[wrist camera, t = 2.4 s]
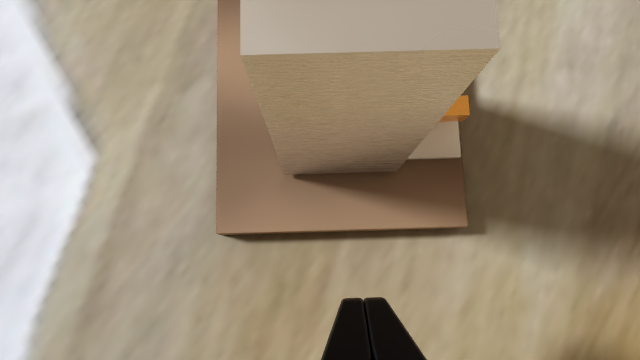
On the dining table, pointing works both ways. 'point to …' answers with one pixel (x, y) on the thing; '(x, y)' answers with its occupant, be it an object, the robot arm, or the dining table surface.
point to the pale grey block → (361, 75)
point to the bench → (320, 189)
